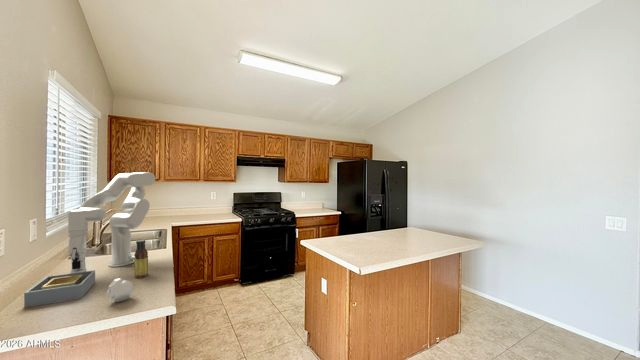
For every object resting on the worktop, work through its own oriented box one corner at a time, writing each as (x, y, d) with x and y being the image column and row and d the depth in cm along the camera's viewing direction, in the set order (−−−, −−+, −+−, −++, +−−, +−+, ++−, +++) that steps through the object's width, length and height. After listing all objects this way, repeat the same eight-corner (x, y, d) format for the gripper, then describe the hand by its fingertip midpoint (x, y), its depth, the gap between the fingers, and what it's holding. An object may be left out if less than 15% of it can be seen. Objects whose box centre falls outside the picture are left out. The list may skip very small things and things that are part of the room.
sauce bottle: (139, 274, 143) (138, 238, 143) (150, 273, 144) (150, 238, 144) (131, 278, 137) (131, 241, 137) (143, 278, 137) (143, 241, 137)
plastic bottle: (89, 277, 139) (89, 240, 139) (74, 282, 132) (74, 243, 132) (82, 275, 141) (82, 239, 141) (66, 280, 135) (66, 242, 134)
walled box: (95, 281, 133) (95, 270, 133) (81, 298, 115) (81, 284, 115) (47, 288, 125) (47, 276, 124) (24, 307, 107) (24, 293, 107)
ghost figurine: (111, 298, 115) (111, 275, 115) (136, 294, 119) (136, 273, 119) (102, 307, 107) (102, 283, 107) (129, 303, 110) (129, 280, 110)
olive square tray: (83, 284, 127) (83, 274, 127) (74, 293, 118) (74, 282, 117) (52, 288, 122) (52, 278, 122) (41, 298, 112) (41, 287, 112)
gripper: (75, 230, 142) (75, 263, 142) (61, 237, 127) (62, 273, 127) (92, 229, 146) (92, 261, 146) (81, 235, 131) (82, 271, 131)
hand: (78, 266), depth 137 cm, fingers closed on plastic bottle, 5 cm apart
